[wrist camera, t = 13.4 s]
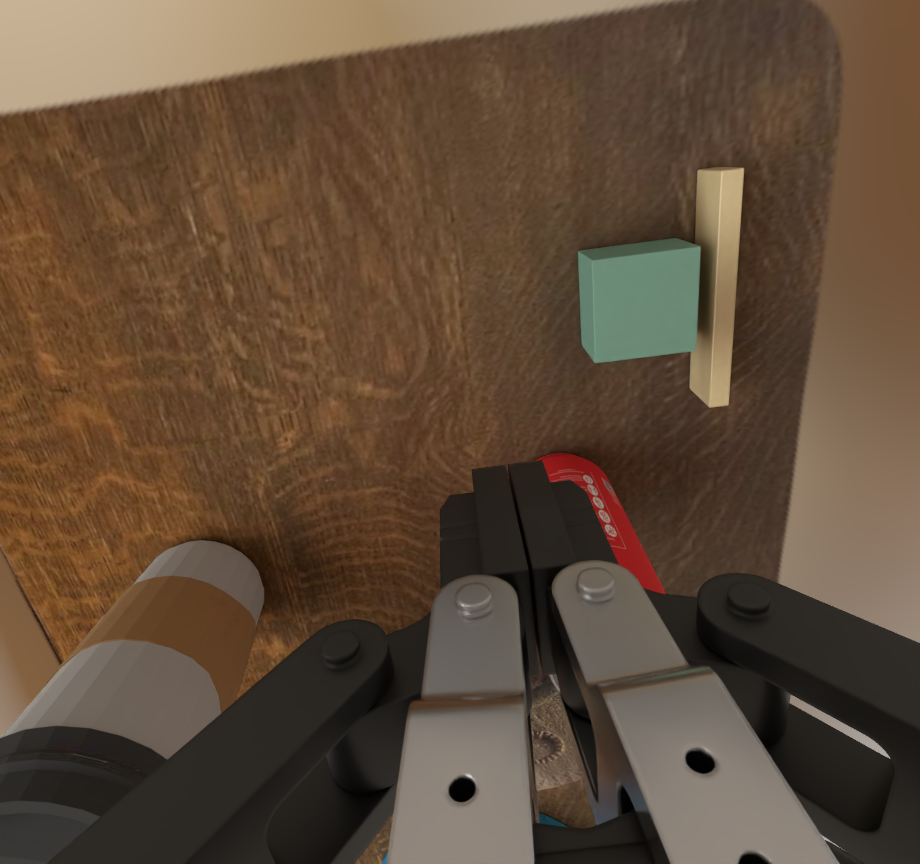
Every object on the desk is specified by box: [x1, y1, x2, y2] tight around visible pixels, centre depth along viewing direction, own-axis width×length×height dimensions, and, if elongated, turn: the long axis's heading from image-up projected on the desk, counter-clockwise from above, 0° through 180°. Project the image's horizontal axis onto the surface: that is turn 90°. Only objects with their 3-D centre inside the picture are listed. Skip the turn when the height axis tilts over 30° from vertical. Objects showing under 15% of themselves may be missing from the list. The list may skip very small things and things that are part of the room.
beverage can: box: [534, 452, 666, 692], centre depth 26 cm, size 5×5×12 cm
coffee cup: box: [0, 540, 264, 864], centre depth 27 cm, size 8×8×15 cm
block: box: [578, 238, 701, 363], centre depth 26 cm, size 4×4×3 cm
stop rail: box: [690, 167, 744, 407], centre depth 26 cm, size 10×1×2 cm, turn 7°
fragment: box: [530, 644, 582, 791], centre depth 36 cm, size 13×16×5 cm
